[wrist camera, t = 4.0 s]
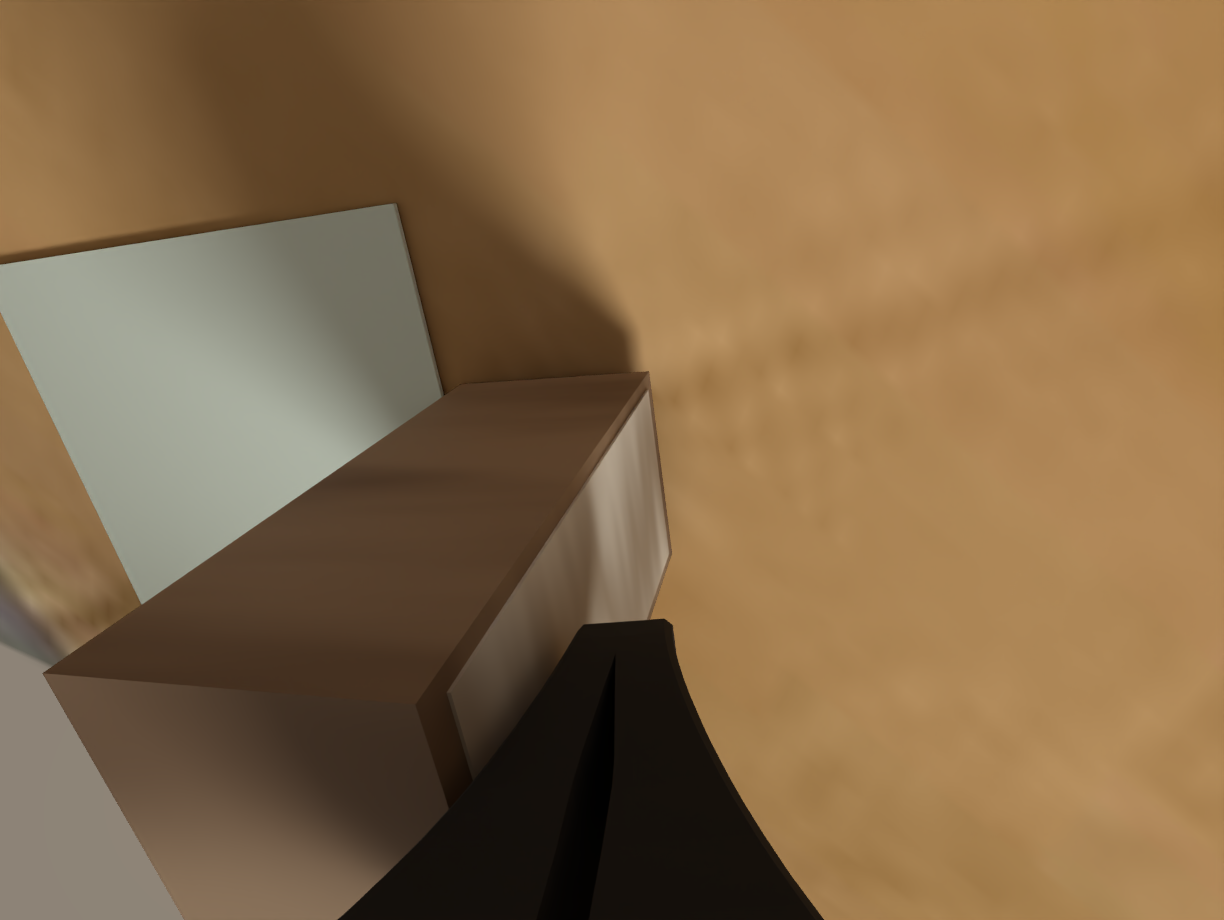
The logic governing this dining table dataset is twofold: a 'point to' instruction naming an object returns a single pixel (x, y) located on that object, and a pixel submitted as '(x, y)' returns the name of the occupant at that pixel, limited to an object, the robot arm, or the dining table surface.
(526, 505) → the walnut block
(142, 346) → the pad
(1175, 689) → the dining table surface
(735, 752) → the dining table surface
